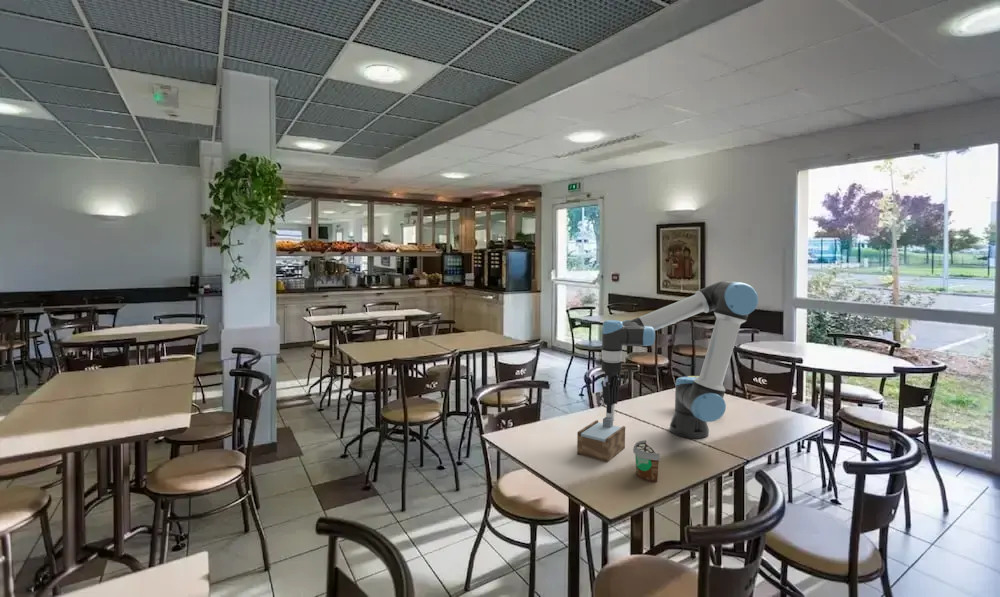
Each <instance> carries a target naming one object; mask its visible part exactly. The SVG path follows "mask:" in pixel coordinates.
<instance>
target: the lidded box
mask: <svg viewBox="0 0 1000 597" xmlns="http://www.w3.org/2000/svg"><path fill="white" fill-rule="evenodd" d="M598 422H599V419H597V420H594V421H592V422H591V423H590V424H588V425H586V426H585V427H583V428H582V429H580V430H579V431H577V432H576V433H577V434H576V435H577V438H576V440H577V441H576V443H577V444H576V446H577V448H576V450H577V451H576V452H577V455H579V456H582V457H585V458H590V459H592V460H593V459H594V460H597V461H600V462H606V463H609V462H610V461H611V460H612V459H613V458H615V457H617V455H618V454H619V453H620V452H622V451H623V450H624V449H625V448H626V426H624V425H622V426H620V427H621V428H620V429H619V430H617V431H616V432H614V433H613V434H612V435H610V436H609V437H607V438H606V442H603V441H599V440H595V439H590V438H586V437H582V436H581V433H582V432H584V431H586V430H587V429H589V428H590V427H592V426H593V425H595V424H596V423H598Z"/></svg>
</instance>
